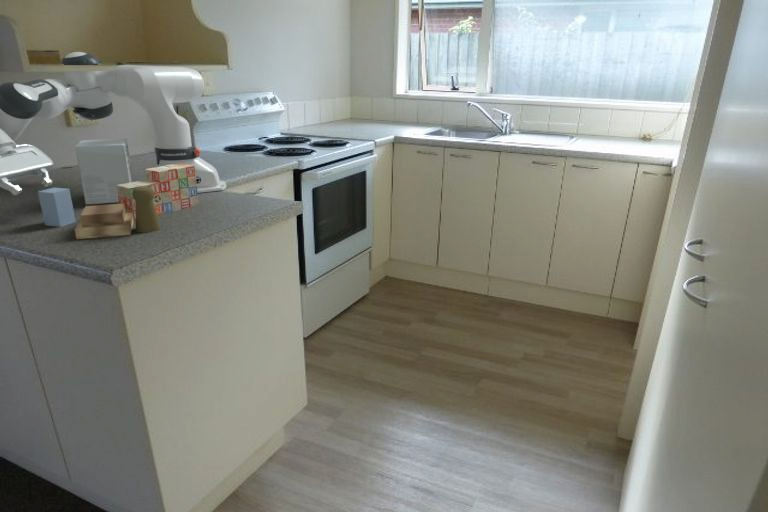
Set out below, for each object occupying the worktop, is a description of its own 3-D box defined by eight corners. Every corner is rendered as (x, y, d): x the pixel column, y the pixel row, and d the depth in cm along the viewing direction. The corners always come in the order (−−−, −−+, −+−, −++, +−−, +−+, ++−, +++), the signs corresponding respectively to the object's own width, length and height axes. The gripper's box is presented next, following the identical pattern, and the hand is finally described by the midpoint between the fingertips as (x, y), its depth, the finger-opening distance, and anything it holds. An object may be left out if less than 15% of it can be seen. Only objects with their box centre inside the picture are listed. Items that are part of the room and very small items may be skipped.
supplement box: (135, 192, 172) (127, 138, 166) (133, 201, 161) (124, 144, 155) (90, 194, 168) (80, 139, 162) (85, 205, 156) (73, 146, 150)
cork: (132, 228, 136) (125, 187, 132) (155, 223, 140) (149, 183, 136) (141, 233, 132) (134, 191, 128) (164, 229, 136) (159, 187, 132)
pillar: (60, 219, 142) (53, 187, 139) (75, 221, 141) (69, 188, 138) (45, 225, 137) (37, 191, 134) (60, 226, 136) (53, 193, 133)
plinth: (133, 221, 142) (130, 201, 140) (130, 234, 131) (127, 213, 129) (83, 225, 138) (79, 205, 136) (76, 239, 127) (72, 217, 125)
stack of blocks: (134, 221, 142) (127, 176, 138) (121, 217, 145) (113, 173, 141) (199, 205, 159) (194, 164, 154) (186, 202, 162) (181, 162, 158)
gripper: (25, 150, 146) (61, 187, 147) (-48, 163, 128) (-6, 206, 129) (35, 135, 143) (71, 173, 145) (-38, 146, 125) (4, 190, 126)
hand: (34, 188), depth 137 cm, fingers open, 8 cm apart
